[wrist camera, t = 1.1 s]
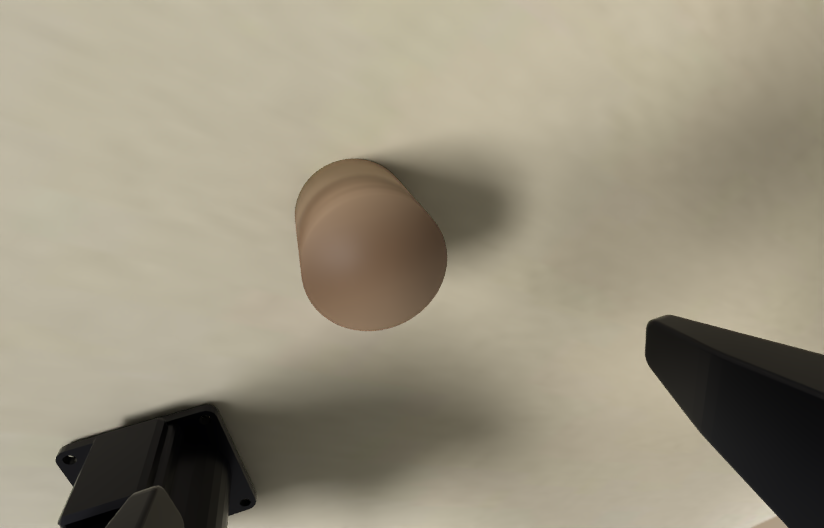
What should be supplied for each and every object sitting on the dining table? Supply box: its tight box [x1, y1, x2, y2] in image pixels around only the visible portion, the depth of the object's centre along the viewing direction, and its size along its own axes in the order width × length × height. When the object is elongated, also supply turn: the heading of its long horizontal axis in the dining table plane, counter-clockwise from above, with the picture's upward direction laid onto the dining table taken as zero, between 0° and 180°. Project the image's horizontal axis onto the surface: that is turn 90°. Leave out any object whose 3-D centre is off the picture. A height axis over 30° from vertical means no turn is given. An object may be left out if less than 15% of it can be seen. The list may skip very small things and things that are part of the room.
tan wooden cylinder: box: [295, 159, 447, 331], centre depth 17 cm, size 5×5×5 cm
